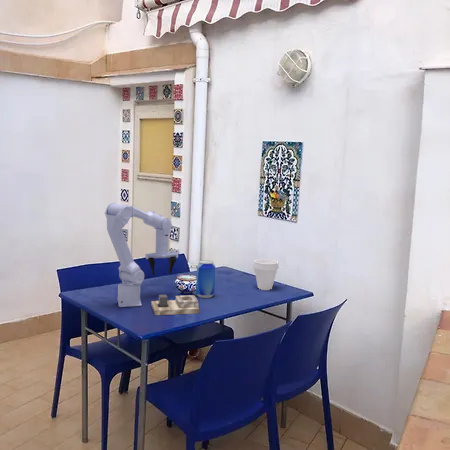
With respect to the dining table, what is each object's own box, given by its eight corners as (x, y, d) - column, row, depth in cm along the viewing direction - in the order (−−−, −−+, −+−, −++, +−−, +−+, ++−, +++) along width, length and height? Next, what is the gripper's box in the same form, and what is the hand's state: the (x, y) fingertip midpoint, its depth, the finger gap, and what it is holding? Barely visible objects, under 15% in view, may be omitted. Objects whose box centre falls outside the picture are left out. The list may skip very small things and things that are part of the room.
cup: (278, 292, 247) (279, 264, 245) (252, 291, 247) (254, 263, 245) (276, 285, 259) (277, 259, 257) (251, 284, 259) (253, 258, 257)
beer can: (198, 298, 231) (199, 263, 229) (194, 293, 239) (195, 259, 237) (216, 298, 233) (217, 263, 231) (211, 293, 241) (213, 259, 239)
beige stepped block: (155, 315, 206) (155, 304, 206) (151, 305, 219) (151, 295, 218) (199, 313, 211) (199, 302, 210) (192, 303, 223) (193, 293, 223)
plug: (159, 311, 211) (160, 297, 210) (158, 308, 215) (158, 294, 214) (167, 311, 212) (167, 297, 211) (165, 308, 216) (166, 294, 215)
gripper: (147, 246, 223) (147, 276, 225) (180, 245, 228) (179, 275, 230) (144, 243, 230) (144, 272, 232) (176, 242, 235) (175, 271, 237)
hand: (161, 273), depth 232 cm, fingers open, 7 cm apart
